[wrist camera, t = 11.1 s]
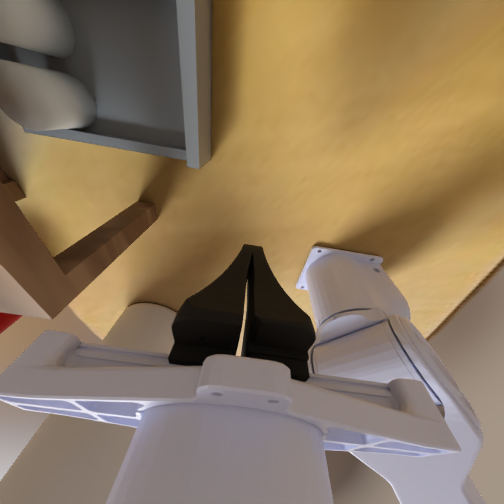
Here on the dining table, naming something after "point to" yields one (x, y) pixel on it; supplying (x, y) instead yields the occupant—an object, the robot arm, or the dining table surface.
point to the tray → (111, 73)
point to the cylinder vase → (85, 431)
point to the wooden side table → (61, 266)
